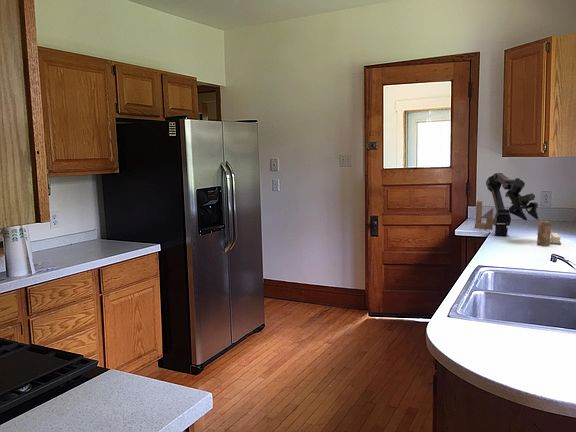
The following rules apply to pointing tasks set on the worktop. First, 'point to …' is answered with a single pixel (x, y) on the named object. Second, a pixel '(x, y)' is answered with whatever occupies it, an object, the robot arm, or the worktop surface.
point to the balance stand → (555, 239)
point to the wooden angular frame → (479, 216)
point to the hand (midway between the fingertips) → (532, 219)
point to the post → (544, 233)
